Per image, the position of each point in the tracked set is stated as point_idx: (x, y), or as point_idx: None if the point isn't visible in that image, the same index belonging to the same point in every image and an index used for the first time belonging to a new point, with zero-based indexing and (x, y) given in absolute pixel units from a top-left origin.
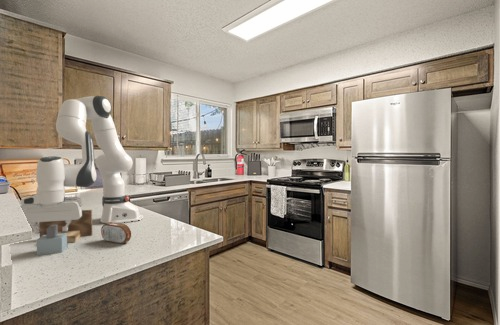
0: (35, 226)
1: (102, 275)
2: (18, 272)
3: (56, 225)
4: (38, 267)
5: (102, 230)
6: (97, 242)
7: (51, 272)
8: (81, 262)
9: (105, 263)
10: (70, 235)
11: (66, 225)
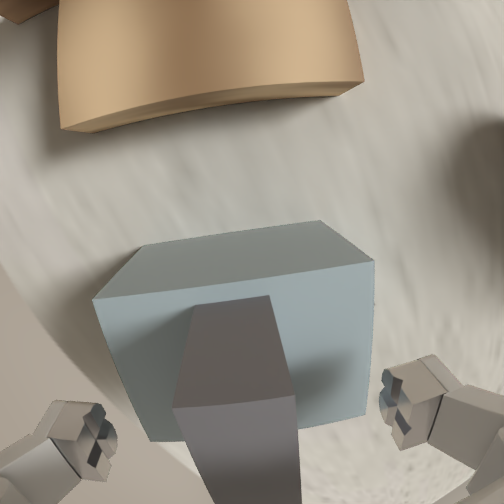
0: (43, 488)
1: (468, 476)
2: None
3: (297, 434)
4: None
5: None
6: (489, 164)
7: (350, 494)
8: None
9: None
10: (312, 69)
11: (456, 452)
